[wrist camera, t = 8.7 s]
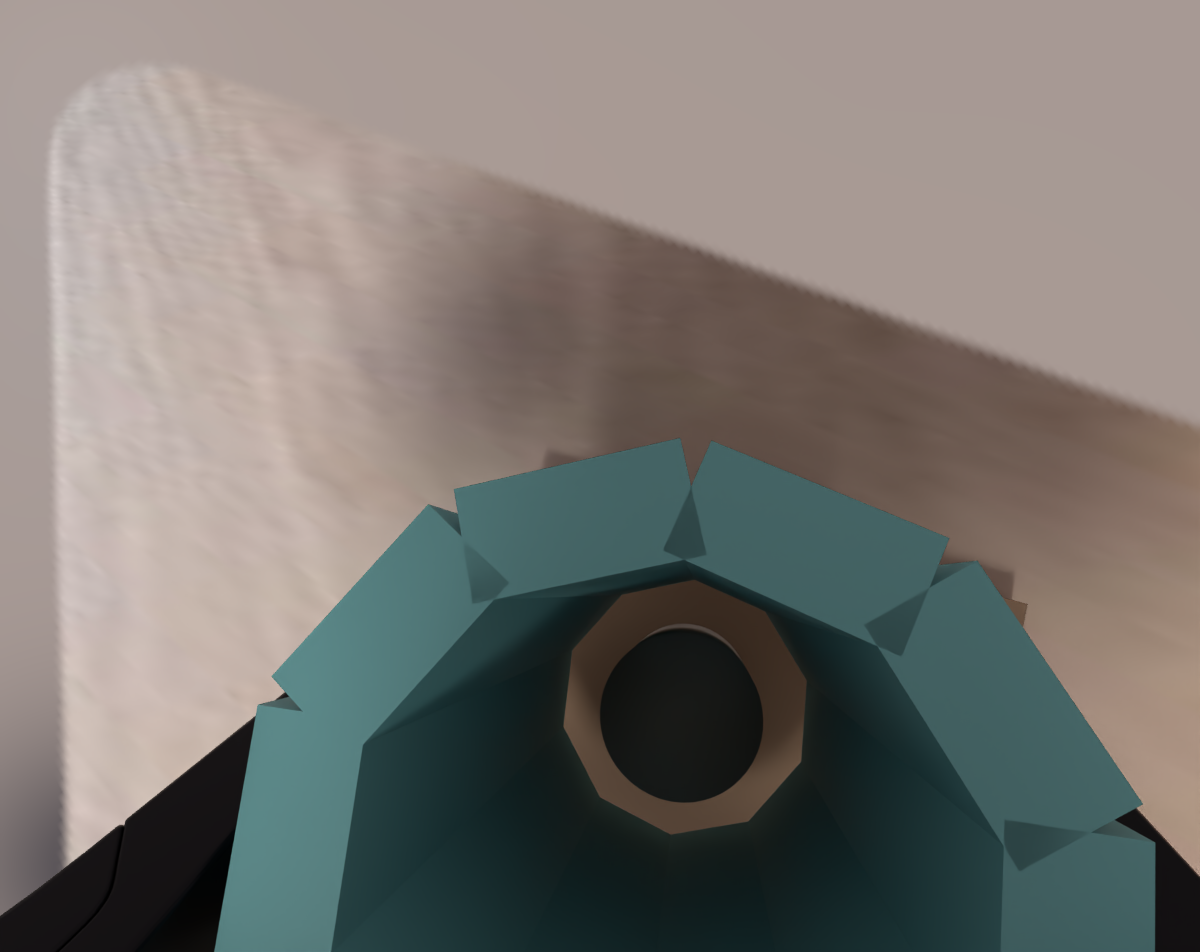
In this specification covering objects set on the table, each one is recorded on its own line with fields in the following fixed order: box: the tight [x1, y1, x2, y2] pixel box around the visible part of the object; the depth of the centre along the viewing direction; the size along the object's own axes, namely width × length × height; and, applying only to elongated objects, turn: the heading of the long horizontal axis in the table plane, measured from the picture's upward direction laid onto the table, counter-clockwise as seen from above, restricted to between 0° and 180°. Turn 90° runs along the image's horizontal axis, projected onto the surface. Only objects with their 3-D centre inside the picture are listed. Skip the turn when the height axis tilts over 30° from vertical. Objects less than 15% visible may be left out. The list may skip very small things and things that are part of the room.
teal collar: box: [214, 438, 1155, 952], centre depth 10 cm, size 7×7×10 cm
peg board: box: [563, 580, 1027, 834], centre depth 15 cm, size 16×12×5 cm
